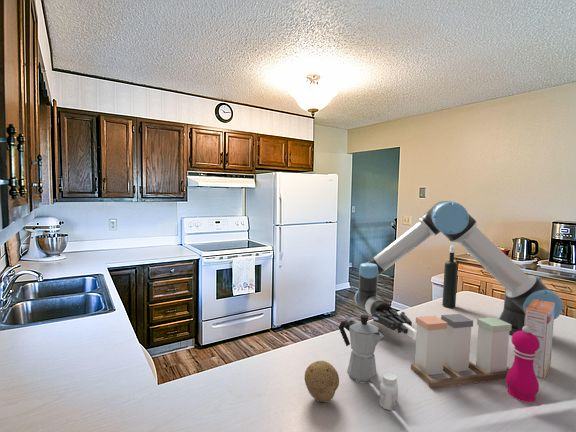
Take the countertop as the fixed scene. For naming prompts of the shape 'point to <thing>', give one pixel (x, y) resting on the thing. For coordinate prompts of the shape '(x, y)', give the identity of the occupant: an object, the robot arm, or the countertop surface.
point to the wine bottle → (450, 281)
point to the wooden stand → (458, 379)
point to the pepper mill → (523, 366)
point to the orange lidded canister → (430, 344)
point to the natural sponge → (321, 380)
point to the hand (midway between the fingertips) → (415, 335)
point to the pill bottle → (388, 391)
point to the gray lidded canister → (457, 341)
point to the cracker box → (541, 332)
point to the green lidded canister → (492, 344)
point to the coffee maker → (361, 348)
